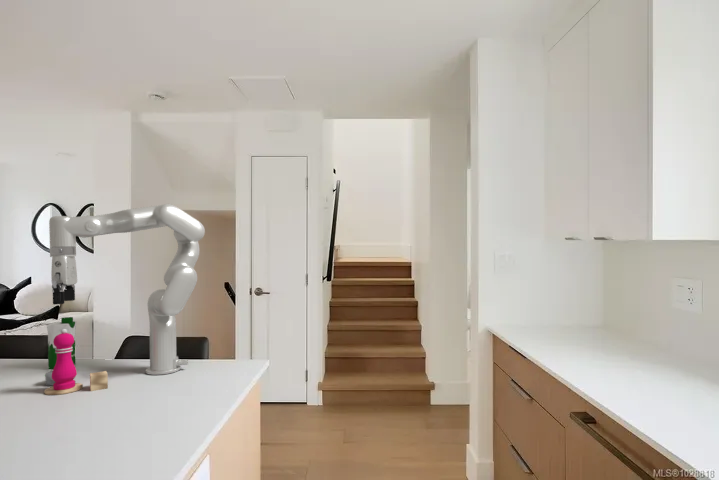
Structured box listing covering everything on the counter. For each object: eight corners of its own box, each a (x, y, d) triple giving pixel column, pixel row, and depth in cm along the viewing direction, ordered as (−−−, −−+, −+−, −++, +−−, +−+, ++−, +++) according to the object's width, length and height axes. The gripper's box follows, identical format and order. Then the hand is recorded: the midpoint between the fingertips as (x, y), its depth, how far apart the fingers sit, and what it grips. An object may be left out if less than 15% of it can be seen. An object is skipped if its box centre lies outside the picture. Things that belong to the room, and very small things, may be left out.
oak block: (106, 385, 161) (106, 370, 161) (107, 388, 157) (107, 374, 157) (90, 387, 159) (89, 373, 159) (90, 391, 154) (90, 376, 154)
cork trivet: (87, 383, 163) (87, 381, 163) (76, 393, 152) (76, 391, 152) (52, 386, 160) (52, 384, 160) (38, 396, 149) (38, 394, 149)
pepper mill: (64, 391, 152) (63, 330, 152) (46, 390, 154) (45, 330, 154) (82, 384, 159) (81, 327, 159) (64, 383, 161) (63, 326, 161)
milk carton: (68, 369, 184) (67, 319, 184) (44, 370, 183) (43, 320, 183) (79, 363, 193) (78, 316, 193) (56, 364, 192) (55, 316, 192)
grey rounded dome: (59, 380, 169) (59, 369, 170) (77, 379, 168) (77, 368, 168) (39, 385, 162) (39, 374, 162) (58, 385, 160) (58, 373, 160)
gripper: (65, 252, 149) (67, 304, 149) (84, 251, 166) (85, 298, 166) (39, 253, 148) (40, 306, 148) (60, 252, 164) (61, 300, 164)
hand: (64, 302), depth 157 cm, fingers open, 9 cm apart
